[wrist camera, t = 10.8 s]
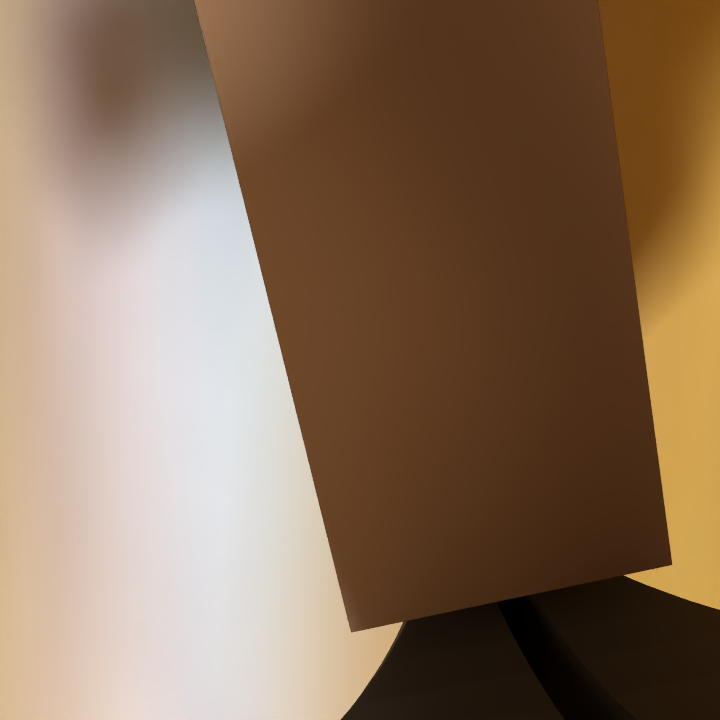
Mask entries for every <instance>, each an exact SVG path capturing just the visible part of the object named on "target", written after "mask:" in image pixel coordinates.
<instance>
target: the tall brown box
mask: <svg viewBox="0 0 720 720" xmlns="http://www.w3.org/2000/svg"><path fill="white" fill-rule="evenodd" d="M194 2H195V6H196V10H197V14H198V18H199V22H200V26H201V31H202V35H203V39H204V43H205V47H206V51H207V55H208V59H209V63H210V67H211V71H212V75H213V79H214V83H215V87H216V91H217V95H218V99H219V103H220V107H221V111H222V115H223V119H224V123H225V127H226V131H227V135H228V139H229V143H230V147H231V151H232V155H233V159H234V163H235V167H236V171H237V175H238V179H239V183H240V187H241V191H242V195H243V199H244V204H245V208H246V212H247V216H248V220H249V224H250V228H251V232H252V236H253V240H254V244H255V248H256V252H257V256H258V260H259V264H260V268H261V272H262V276H263V280H264V284H265V288H266V292H267V296H268V300H269V304H270V308H271V312H272V316H273V320H274V324H275V328H276V332H277V336H278V340H279V344H280V348H281V352H282V356H283V360H284V364H285V368H286V372H287V376H288V381H289V385H290V389H291V393H292V397H293V401H294V405H295V409H296V413H297V417H298V421H299V425H300V429H301V433H302V437H303V441H304V445H305V449H306V453H307V457H308V461H309V465H310V469H311V473H312V477H313V481H314V485H315V489H316V493H317V497H318V501H319V505H320V509H321V513H322V517H323V521H324V525H325V529H326V533H327V537H328V541H329V545H330V549H331V554H332V558H333V562H334V566H335V570H336V574H337V578H338V582H339V586H340V590H341V594H342V598H343V602H344V606H345V610H346V614H347V618H348V622H349V626H350V630H351V632H356V631H361V630H365V629H370V628H375V627H380V626H384V625H389V624H394V623H399V622H403V621H408V620H413V619H417V618H422V617H427V616H432V615H436V614H441V613H446V612H451V611H455V610H460V609H465V608H470V607H474V606H479V605H484V604H489V603H493V602H498V601H503V600H508V599H512V598H517V597H522V596H527V595H531V594H536V593H541V592H546V591H550V590H555V589H560V588H565V587H569V586H574V585H579V584H584V583H588V582H593V581H598V580H603V579H607V578H612V577H617V576H621V575H626V574H631V573H636V572H640V571H645V570H650V569H655V568H659V567H664V566H669V565H672V559H671V552H670V544H669V537H668V529H667V522H666V514H665V506H664V499H663V491H662V484H661V476H660V469H659V461H658V454H657V446H656V438H655V431H654V423H653V416H652V408H651V401H650V393H649V385H648V378H647V370H646V363H645V355H644V348H643V340H642V333H641V325H640V317H639V310H638V302H637V295H636V287H635V280H634V272H633V265H632V257H631V249H630V242H629V234H628V227H627V219H626V212H625V204H624V196H623V189H622V181H621V174H620V166H619V159H618V151H617V144H616V136H615V128H614V121H613V113H612V106H611V98H610V91H609V83H608V75H607V68H606V60H605V53H604V45H603V38H602V30H601V23H600V15H599V7H598V0H194Z"/></svg>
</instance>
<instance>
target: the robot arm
mask: <svg viewBox="0 0 720 720" xmlns="http://www.w3.org/2000/svg"><path fill="white" fill-rule="evenodd" d="M341 720H720V610H718V609H715V608H711V607H708V606H705V605H701V604H698V603H695V602H692V601H689V600H686V599H683V598H680V597H677V596H675V595H672V594H669V593H666V592H664V591H661V590H658V589H656V588H653V587H650V586H647V585H645V584H642V583H640V582H638V581H635V580H633V579H630V578H628V577H626V576H624V575H621V576H617V577H612V578H607V579H603V580H598V581H593V582H588V583H584V584H579V585H574V586H569V587H565V588H560V589H555V590H550V591H546V592H541V593H536V594H531V595H527V596H522V597H517V598H512V599H508V600H503V601H498V602H493V603H489V604H484V605H479V606H474V607H470V608H465V609H460V610H455V611H451V612H446V613H441V614H436V615H432V616H427V617H422V618H417V619H413V620H408V621H404V622H403V624H402V626H401V628H400V630H399V632H398V635H397V637H396V639H395V641H394V642H393V644H392V646H391V648H390V650H389V652H388V653H387V655H386V657H385V659H384V660H383V662H382V664H381V665H380V667H379V669H378V670H377V672H376V673H375V675H374V676H373V677H372V679H371V680H370V682H369V683H368V685H367V686H366V688H365V689H364V691H363V692H362V694H361V695H360V697H359V698H358V699H357V701H356V702H355V703H354V705H353V706H352V707H351V708H350V710H349V711H348V712H347V713H346V714H345V715H344V716H343V718H342V719H341Z"/></svg>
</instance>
